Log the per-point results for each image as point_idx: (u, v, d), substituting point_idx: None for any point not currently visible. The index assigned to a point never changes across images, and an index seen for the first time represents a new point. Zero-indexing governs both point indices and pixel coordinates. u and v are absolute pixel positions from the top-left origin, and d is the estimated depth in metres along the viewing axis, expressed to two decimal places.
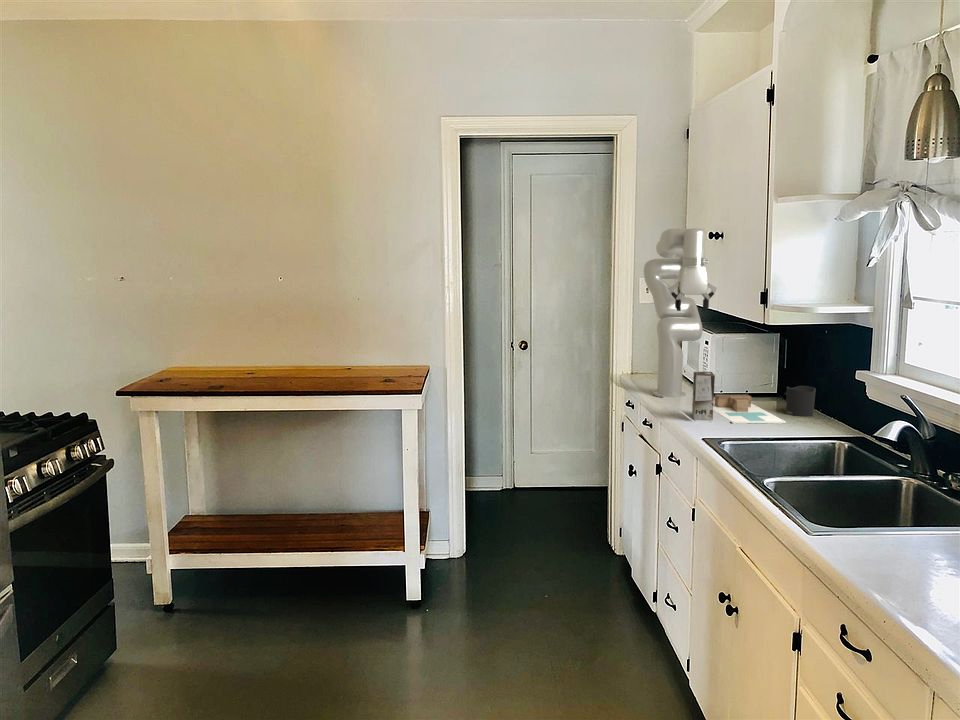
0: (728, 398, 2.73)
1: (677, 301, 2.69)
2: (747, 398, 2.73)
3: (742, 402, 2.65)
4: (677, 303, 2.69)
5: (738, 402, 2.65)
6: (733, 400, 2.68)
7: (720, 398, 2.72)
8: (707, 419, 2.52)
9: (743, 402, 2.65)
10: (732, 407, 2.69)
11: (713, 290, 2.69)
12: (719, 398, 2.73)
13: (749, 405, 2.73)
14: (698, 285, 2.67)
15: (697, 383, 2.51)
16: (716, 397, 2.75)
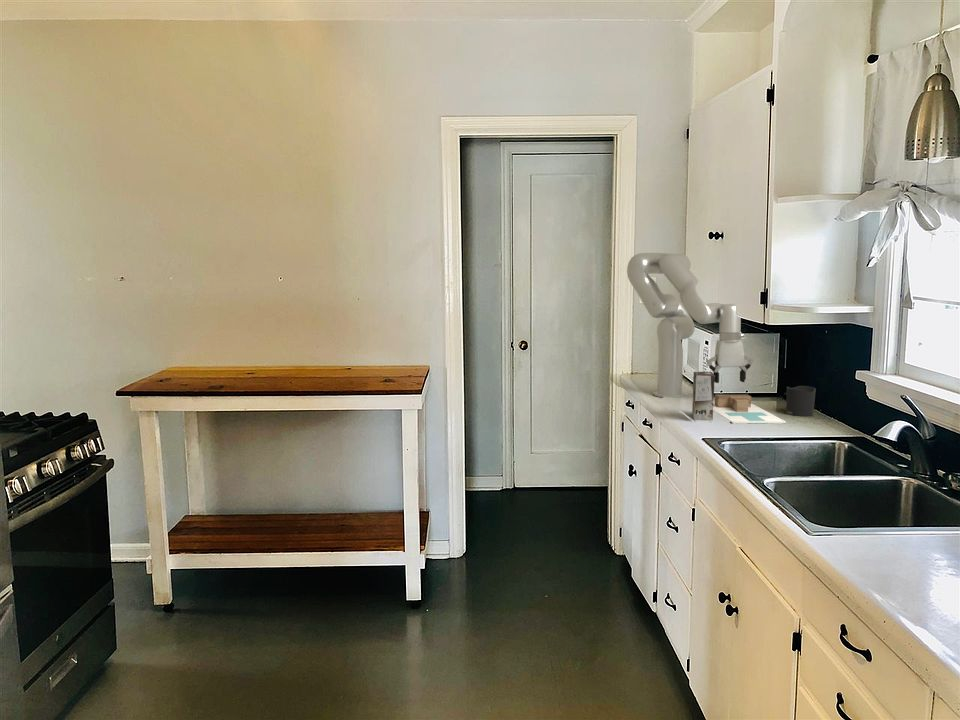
0: (728, 398, 2.73)
1: (715, 374, 2.79)
2: (747, 398, 2.73)
3: (742, 402, 2.65)
4: (715, 375, 2.79)
5: (738, 402, 2.65)
6: (733, 400, 2.68)
7: (720, 398, 2.72)
8: (707, 419, 2.52)
9: (743, 402, 2.65)
10: (732, 407, 2.69)
11: (749, 362, 2.79)
12: (719, 398, 2.73)
13: (749, 405, 2.73)
14: (735, 358, 2.77)
15: (697, 383, 2.51)
16: (716, 397, 2.75)
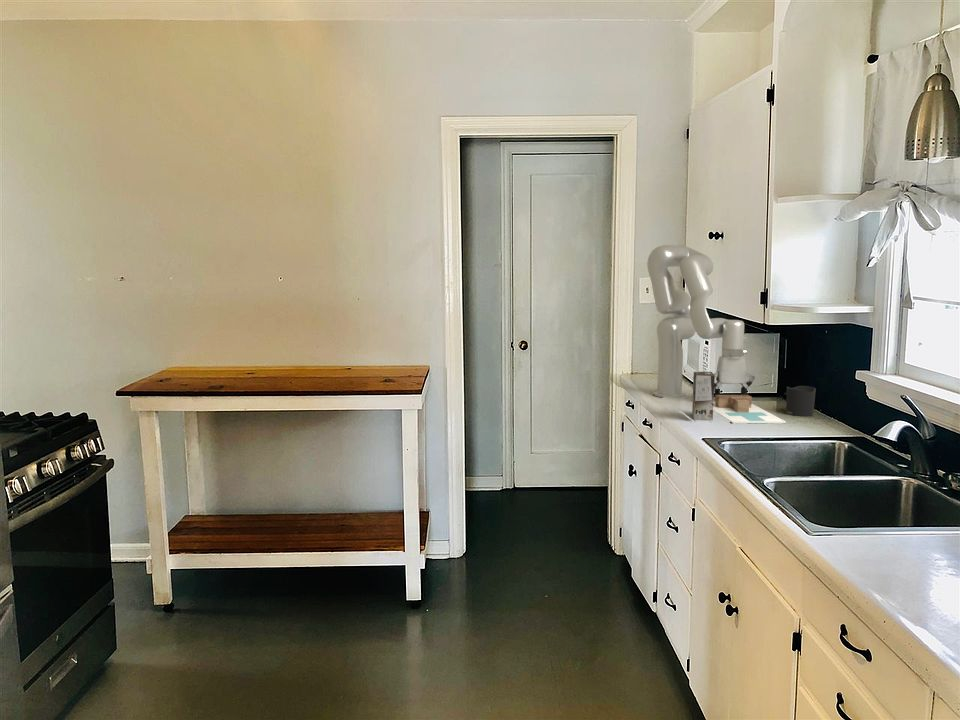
0: (729, 398, 2.72)
1: (716, 390, 2.76)
2: (748, 398, 2.72)
3: (743, 402, 2.64)
4: (716, 392, 2.76)
5: (739, 402, 2.64)
6: (734, 400, 2.68)
7: (721, 398, 2.72)
8: (707, 419, 2.52)
9: (744, 402, 2.64)
10: (733, 408, 2.69)
11: (751, 379, 2.76)
12: (720, 398, 2.72)
13: (750, 405, 2.72)
14: (737, 375, 2.74)
15: (697, 383, 2.51)
16: (716, 397, 2.74)
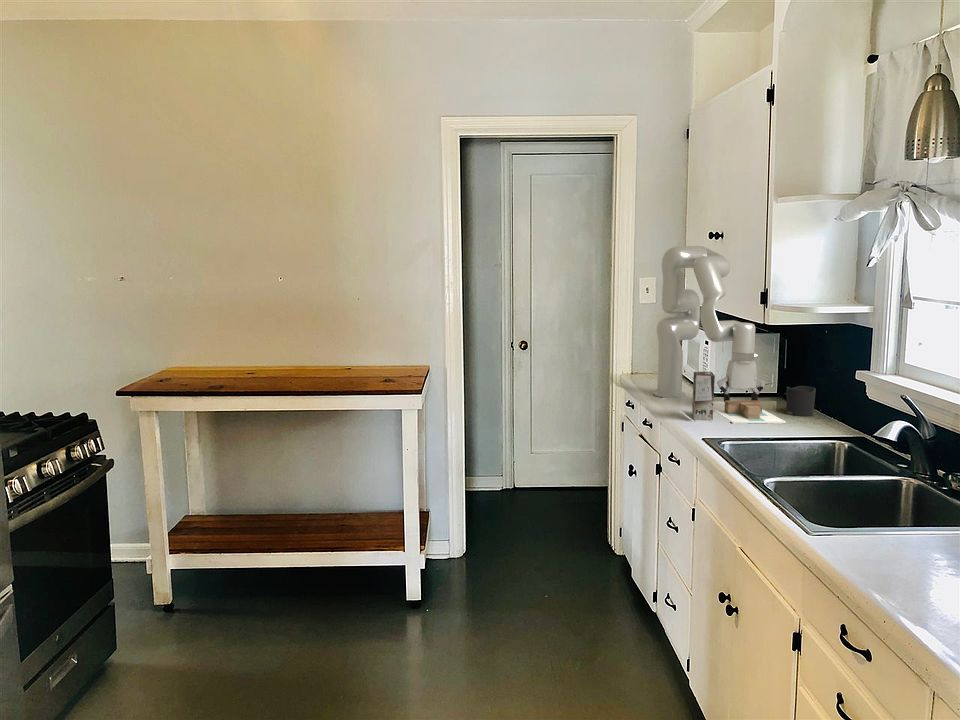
0: (738, 404, 2.61)
1: (726, 395, 2.66)
2: (758, 404, 2.62)
3: (753, 408, 2.54)
4: (726, 397, 2.66)
5: (749, 408, 2.54)
6: (744, 406, 2.57)
7: (730, 404, 2.61)
8: (707, 419, 2.52)
9: (754, 408, 2.54)
10: (743, 414, 2.58)
11: (762, 384, 2.66)
12: (729, 404, 2.62)
13: (760, 411, 2.62)
14: (748, 380, 2.64)
15: (697, 383, 2.51)
16: (726, 403, 2.64)
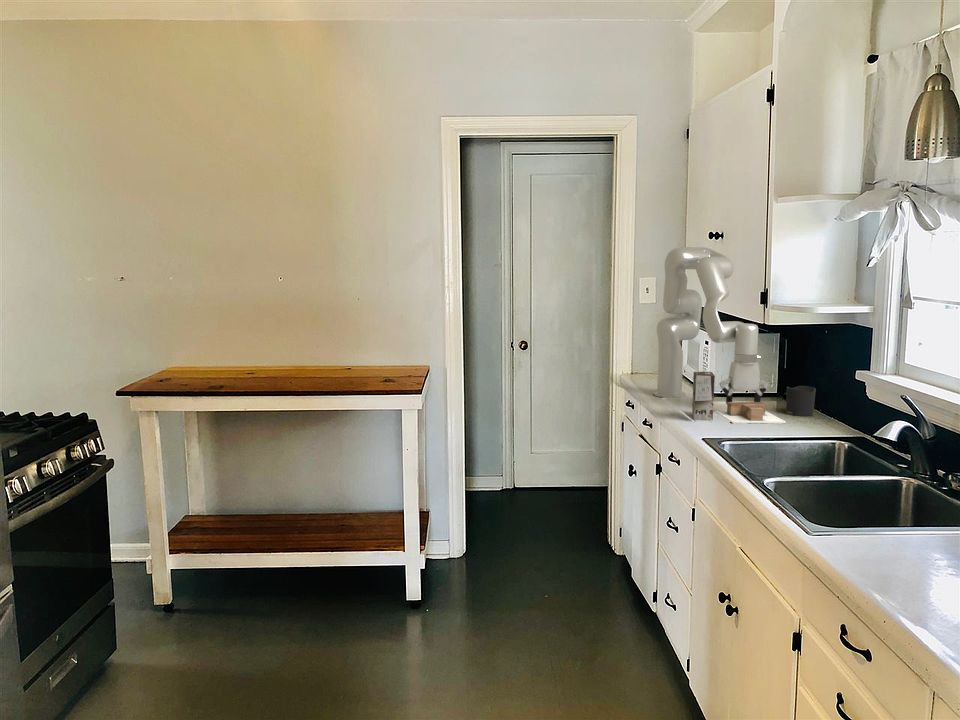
0: (741, 406, 2.59)
1: (728, 397, 2.63)
2: (761, 406, 2.59)
3: (756, 410, 2.51)
4: (728, 399, 2.63)
5: (752, 410, 2.51)
6: (747, 408, 2.55)
7: (733, 406, 2.59)
8: (707, 419, 2.52)
9: (757, 410, 2.51)
10: (746, 416, 2.56)
11: (765, 386, 2.63)
12: (732, 406, 2.59)
13: (763, 413, 2.59)
14: (750, 381, 2.61)
15: (697, 383, 2.51)
16: (728, 405, 2.61)
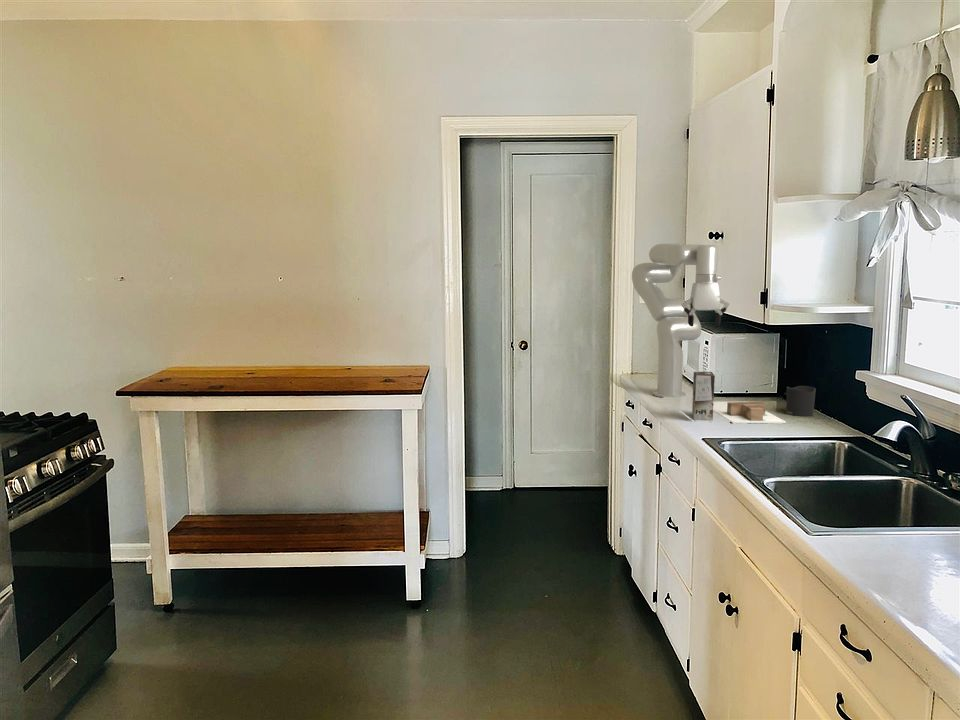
0: (741, 406, 2.59)
1: (690, 317, 2.72)
2: (761, 406, 2.59)
3: (756, 410, 2.51)
4: (690, 319, 2.72)
5: (752, 410, 2.51)
6: (747, 408, 2.55)
7: (733, 406, 2.59)
8: (707, 419, 2.52)
9: (757, 410, 2.51)
10: (746, 416, 2.56)
11: (725, 306, 2.72)
12: (732, 406, 2.59)
13: (763, 413, 2.59)
14: (711, 301, 2.69)
15: (697, 383, 2.51)
16: (728, 405, 2.61)
